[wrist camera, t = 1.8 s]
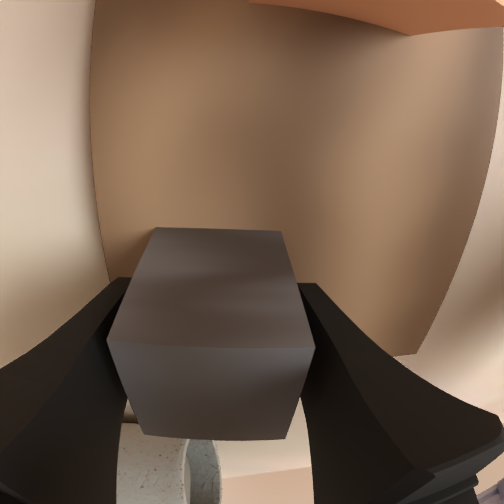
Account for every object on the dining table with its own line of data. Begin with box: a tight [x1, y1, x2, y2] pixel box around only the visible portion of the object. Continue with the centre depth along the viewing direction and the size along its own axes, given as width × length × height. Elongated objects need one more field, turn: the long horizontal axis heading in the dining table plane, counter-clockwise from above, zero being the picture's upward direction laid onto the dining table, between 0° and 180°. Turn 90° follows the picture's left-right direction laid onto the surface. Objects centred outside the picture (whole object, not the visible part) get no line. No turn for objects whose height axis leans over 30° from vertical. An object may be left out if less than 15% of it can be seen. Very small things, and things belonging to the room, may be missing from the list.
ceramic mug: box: [116, 423, 222, 504], centre depth 16 cm, size 11×8×8 cm
